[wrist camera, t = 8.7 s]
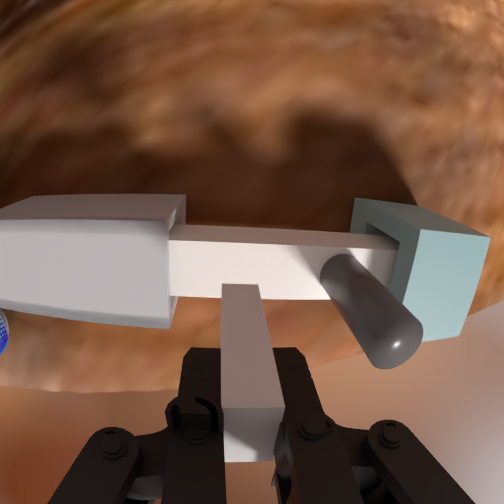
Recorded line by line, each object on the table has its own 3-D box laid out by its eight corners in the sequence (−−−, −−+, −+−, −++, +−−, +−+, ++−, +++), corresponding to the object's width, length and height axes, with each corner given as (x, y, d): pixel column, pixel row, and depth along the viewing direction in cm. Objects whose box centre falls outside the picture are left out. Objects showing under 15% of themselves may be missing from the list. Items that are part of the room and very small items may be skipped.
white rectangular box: (33, 195, 22) (-28, 220, 14) (186, 194, 24) (165, 221, 15) (41, 263, 24) (-10, 305, 16) (185, 271, 26) (170, 329, 17)
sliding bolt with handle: (118, 222, 20) (34, 296, 10) (423, 238, 23) (519, 298, 12) (122, 269, 21) (55, 366, 11) (414, 277, 24) (497, 350, 13)
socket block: (354, 197, 25) (420, 229, 15) (418, 205, 26) (490, 237, 16) (340, 283, 27) (388, 346, 18) (401, 283, 28) (458, 336, 19)
